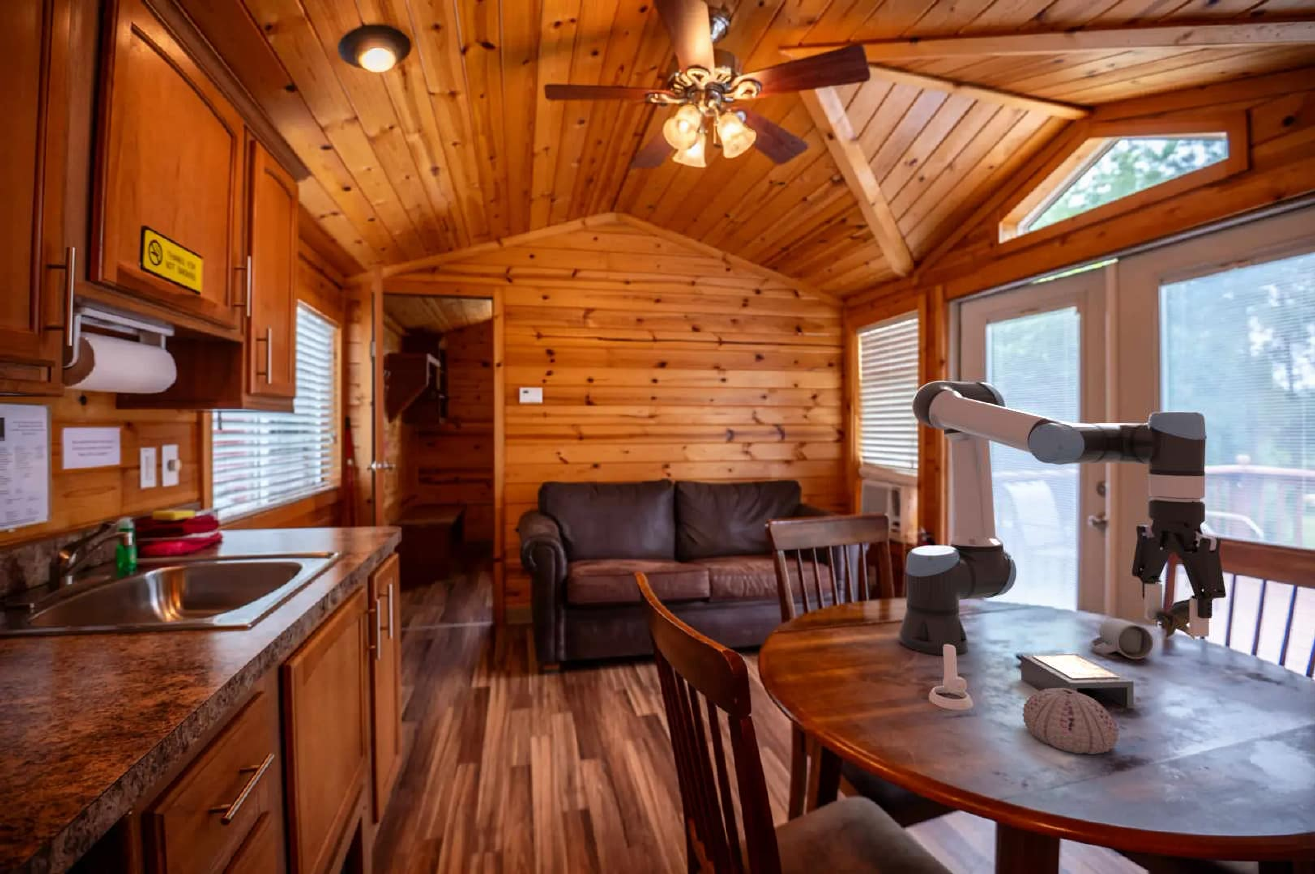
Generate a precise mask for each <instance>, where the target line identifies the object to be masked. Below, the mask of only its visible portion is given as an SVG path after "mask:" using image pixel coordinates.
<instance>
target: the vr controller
mask: <svg viewBox="0 0 1315 874" xmlns="http://www.w3.org/2000/svg"><path fill="white" fill-rule="evenodd" d="M942 656H943V680H942V685H939V686H938V685H937V686H934V687H933V688H932V689H930V692H929V694H928V697H929V698H928V700H929V701H930V703H933V704H934V705H937V706H939V707H941V708H944V709H947V710H953V711H954V710H955V711H966V710H970V709H972V708H973V706H974V703H973V701H972V698H971V697H970V695H969V693H968V692H967V691H966V689H967V688H968V683H967V681H966V679H964V678H963V677H961V676H958V663H957V662H958V661H957V655H956V648H955V647H954V646H953V645H949V644H945V645H944V646H943V655H942ZM936 693H937V694H936ZM948 693H950V694H949V695H954V696H958V697H960V698H957V699H956V698H948V697H944V696H942V695H939V694H948Z"/></svg>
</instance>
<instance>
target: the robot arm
mask: <svg viewBox="0 0 1315 874" xmlns="http://www.w3.org/2000/svg"><path fill="white" fill-rule="evenodd" d="M911 404H912V405H911V407H912V412H913V413H912V414H913V415H914V416H915V419H917V420H918V421H919V422H920V423H921V424H923V425H925V426H927V427H931V428H934V429H937V430H941V431H943V436H944V437H945V438H946V439H947V440H949V442H950V444H951V459H952V475H953V476H952V479H953V492H954V493H953V494H954V495H953V496H954V504H955V505H954V506H955V507H954V509H955V512H954V513H955V524H956V525H955V526H956V536H955V537H954V538H953V539H952V540H951V541H950V546H949V545H942V544H941V545H940V544H937V545H923V546H918V547H915V548H912V549H910V551H908V553H907V556H906V564H905V573H906V574H905V576H906V577H905V578H906V579H905V581H906V584H905V585H906V610H905V613H904V616H903V619H902V622H901V625H900V627H899V631H898V641H899V643H900V642H901V643H902V644H903V645H902V644H901V643H900V644H901V645H902V646H904V645H905V646H907V647H908V648H907V647H906V648H907V649H910V650H912V649H915V650H918V651H917V652H919V651H921V652H920V653H923V652H924V653H923V654H928V653H929V655H935V654H937V655H936V656H943V646H944V645H945V644H949V645H953V646H954V647H955V648H956V656H957V655H961V654H965V653H967V651H968V650H969V649H968V647H969V646H968V645H969V643H968V637H967V634H966V631H965V629H964V626H963V623H962V620H961V617H960V600H969V599H980V598H984V599H990V598H994V597H1000V596H1003V595H1004V594H1007V592H1008V593H1009V591H1010V590H1012V588H1013V586H1014V584H1015V582H1016V579H1017V566H1016V563H1015V560H1014V559H1012V556H1011V554H1010V553H1009V552H1007V550H1004V543H1003V542H1002V541H1001V540H1000V539H999V538H998V537H997V535H996V526H995V525H996V523H995V507H994V494H993V480H992V479H993V477H992V464H991V463H992V462H991V447H990V446H991V445H990V441H991V442H994V443H996V444H997V443H998V444H1000V445H1004V446H1007V447H1010V448H1014V449H1016V450H1020V451H1023V452H1026V453H1029V454H1031V455H1032V456H1034V457H1035V459H1036V460H1037V461H1039V462H1040V463H1044V464H1053V465H1057V466H1059V465H1060V466H1061V465H1068V464H1069V465H1070V464H1103V463H1104V464H1106V463H1107V464H1108V463H1109V464H1110V463H1116V464H1117V463H1118V464H1119V463H1120V464H1142V465H1143V464H1144V465H1145V464H1146V465H1147V464H1148V489H1147V490H1148V491H1147V492H1148V493H1147V494H1148V496H1150V497H1152V498H1150V499H1149V500H1148V512H1147V513H1148V515H1147V516H1148V518H1149V519H1150V520H1152V524H1151V525H1150V524H1149V525H1137V526H1136V529H1135V530H1136V535H1137V536H1136V537H1137V540H1136V545H1135V551H1134V558H1133V564H1132V569H1131V575H1132V576H1133V577H1135V578H1136V577H1137V578H1138V579H1139V581H1140V582H1141V583H1142V584H1141V585H1142V588H1141V589H1142V595H1141V597H1142V599H1143V600H1144V603H1143V604H1144V607H1143V608H1144V613H1143V614H1144V615H1143V617H1144V618H1143V619H1144V620H1148V621H1154V620H1153V619H1150V618H1149V617H1148V615H1147V612H1148V610H1149V609H1151V608H1154V607H1162V608H1163V584H1162V580H1161V579H1160V577H1161V576H1162V573H1163V571H1164V568H1165V566H1166V565H1167V562H1168V560H1169V558H1170V555H1171V554H1172V553H1175V554H1176V557H1177V558H1178V559H1180V560H1181V562H1182V565H1183V567H1184V570H1185V573H1186V575H1187V579H1188V581H1189V584H1190V587H1191V590H1192V591H1193V592H1192V593H1193V595H1190V596H1189V599H1190V616H1189V623H1188V625H1189V626H1188V627H1189V635H1190V636H1189V635H1188V636H1189V637H1191V636H1193V637H1198V638H1199V637H1201V638H1202V637H1210V619H1212V618H1213V600H1214V599H1224V598H1226V597H1227V592H1226V586H1225V580H1224V573H1223V568H1222V563H1221V555H1220V549H1221V545H1222V542H1221V541H1222V540H1221V539H1220V538H1219V537H1213V536H1212V537H1210V536H1207V535H1205V534H1204V533H1203V531H1202V529H1201V525H1202V524H1203V523H1204V522H1205V520H1206V503H1204V501H1202V499H1204V498H1206V471H1205V468H1206V467H1205V466H1206V444H1207V443H1206V442H1207V438H1208V437H1207V435H1206V434H1207V433H1206V432H1207V431H1206V422H1205V421H1206V420H1205V416H1204V414H1202V412H1198V411H1157V412H1152V413H1150V414H1149V418H1148V421H1147V422H1146V423H1145V422H1143V423H1119V422H1118V423H1113V422H1112V423H1111V422H1107V423H1105V422H1101V423H1100V422H1099V423H1077V422H1076V423H1075V422H1074V423H1073V422H1072V423H1071V422H1067V421H1062V420H1059V419H1053V418H1051V417H1047V416H1042V415H1039V414H1035V413H1029V412H1025V411H1021V410H1016V409H1012V408H1008V407H1006V403H1005V400H1004V396H1003V395H1002V392H1001V391H999V389H998V388H996V387H995V386H994V385H993V384H990V383H987V382H981V381H977V380H976V381H975V380H972V381H968V380H967V381H963V380H962V381H959V380H958V381H956V380H955V381H946V380H937V381H931V382H928V383H926V384H924V385H923V386H921V387H920V388H919V389H918V390H917V392H915V394H914V396H913V399H912V403H911ZM1157 620H1159V619H1157ZM1157 620H1156V621H1157ZM905 646H904V647H905ZM915 650H914V651H915Z"/></svg>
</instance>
